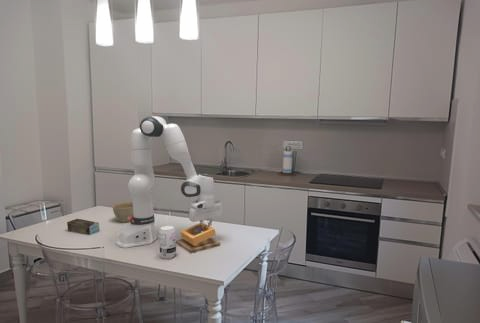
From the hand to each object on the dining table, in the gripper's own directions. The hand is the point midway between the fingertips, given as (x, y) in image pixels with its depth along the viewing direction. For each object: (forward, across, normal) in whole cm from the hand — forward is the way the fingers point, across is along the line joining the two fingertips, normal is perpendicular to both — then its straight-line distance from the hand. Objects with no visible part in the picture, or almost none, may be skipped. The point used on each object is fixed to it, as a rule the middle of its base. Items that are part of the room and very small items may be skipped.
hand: (206, 226), depth 193 cm
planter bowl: (+9, +24, -67) cm, 72 cm away
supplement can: (+9, +26, +5) cm, 28 cm away
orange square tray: (+5, +5, 0) cm, 7 cm away
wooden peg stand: (+9, +6, 0) cm, 11 cm away
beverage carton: (+10, +52, -61) cm, 81 cm away
